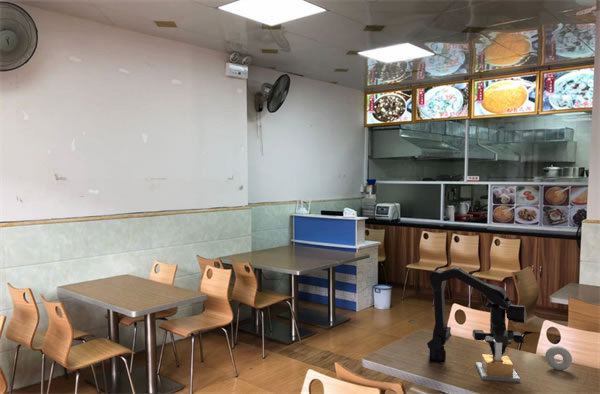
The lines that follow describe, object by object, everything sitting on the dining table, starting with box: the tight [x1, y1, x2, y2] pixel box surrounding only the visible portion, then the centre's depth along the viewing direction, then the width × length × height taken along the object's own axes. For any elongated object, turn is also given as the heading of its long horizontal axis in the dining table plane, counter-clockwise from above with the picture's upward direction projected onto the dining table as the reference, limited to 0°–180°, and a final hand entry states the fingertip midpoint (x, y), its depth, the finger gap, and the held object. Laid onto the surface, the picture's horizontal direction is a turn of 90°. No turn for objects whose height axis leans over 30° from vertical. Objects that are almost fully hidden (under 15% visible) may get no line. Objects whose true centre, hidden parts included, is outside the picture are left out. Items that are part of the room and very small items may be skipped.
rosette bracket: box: [475, 353, 521, 383], centre depth 189 cm, size 14×15×6 cm
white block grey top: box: [493, 339, 503, 362], centre depth 188 cm, size 2×4×9 cm, turn 169°
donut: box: [544, 345, 573, 371], centre depth 192 cm, size 10×3×10 cm, turn 66°
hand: (497, 356), depth 188 cm, fingers closed on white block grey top, 2 cm apart
